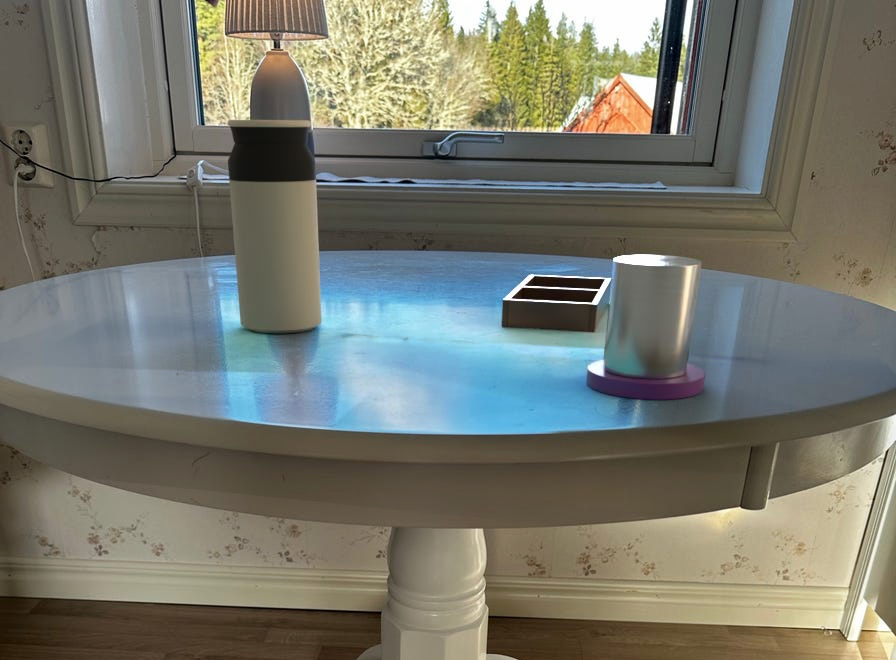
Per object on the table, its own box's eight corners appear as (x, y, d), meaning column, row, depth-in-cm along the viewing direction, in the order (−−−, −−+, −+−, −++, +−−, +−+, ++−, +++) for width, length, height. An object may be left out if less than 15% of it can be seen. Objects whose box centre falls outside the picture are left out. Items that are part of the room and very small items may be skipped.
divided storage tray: (608, 308, 106) (611, 278, 104) (594, 338, 91) (597, 304, 89) (527, 303, 108) (529, 274, 106) (500, 332, 93) (502, 299, 91)
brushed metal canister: (686, 363, 76) (701, 256, 73) (685, 382, 71) (702, 267, 67) (606, 358, 78) (616, 253, 74) (599, 376, 72) (610, 263, 69)
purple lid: (702, 375, 78) (705, 361, 77) (703, 403, 70) (705, 387, 70) (591, 368, 80) (593, 354, 79) (580, 394, 72) (582, 379, 72)
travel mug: (313, 335, 91) (304, 120, 82) (231, 333, 91) (214, 119, 83) (327, 320, 98) (320, 120, 89) (251, 318, 98) (237, 119, 90)
